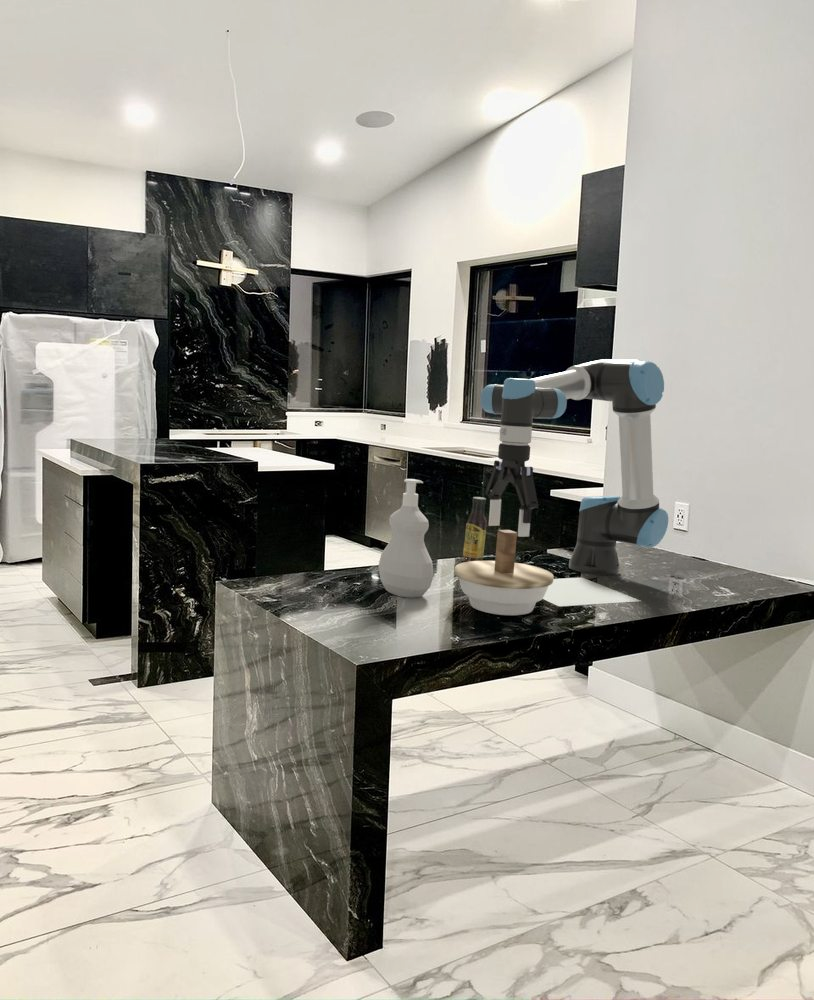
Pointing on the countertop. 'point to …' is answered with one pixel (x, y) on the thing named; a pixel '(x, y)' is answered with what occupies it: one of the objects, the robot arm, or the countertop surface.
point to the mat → (582, 593)
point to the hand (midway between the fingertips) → (508, 530)
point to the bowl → (502, 598)
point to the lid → (504, 568)
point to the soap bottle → (407, 549)
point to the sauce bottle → (475, 531)
